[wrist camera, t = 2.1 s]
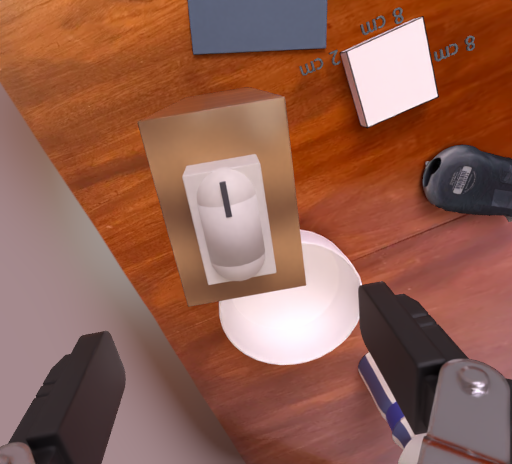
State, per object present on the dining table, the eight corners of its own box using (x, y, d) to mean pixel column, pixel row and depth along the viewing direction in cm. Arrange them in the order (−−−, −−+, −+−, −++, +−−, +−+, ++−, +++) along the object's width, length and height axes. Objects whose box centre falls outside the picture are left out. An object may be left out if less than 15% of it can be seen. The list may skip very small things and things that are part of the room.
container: (323, 142, 49) (328, 145, 46) (293, 55, 44) (298, 53, 42) (467, 79, 47) (481, 79, 45) (452, -18, 43) (466, -24, 40)
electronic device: (519, 152, 53) (435, 137, 49) (552, 166, 48) (463, 151, 44) (487, 208, 58) (407, 199, 53) (514, 225, 53) (430, 217, 49)
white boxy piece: (185, 164, 20) (178, 181, 17) (256, 152, 20) (262, 167, 17) (209, 266, 23) (207, 298, 20) (271, 255, 23) (280, 285, 20)
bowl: (225, 334, 59) (226, 373, 52) (211, 224, 52) (210, 249, 44) (342, 321, 60) (360, 357, 53) (346, 211, 53) (368, 234, 45)
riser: (185, 97, 45) (137, 121, 19) (248, 86, 45) (284, 96, 19) (205, 189, 50) (188, 307, 24) (262, 179, 50) (306, 285, 24)
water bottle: (366, 341, 63) (450, 493, 40) (409, 351, 64) (513, 501, 41) (347, 377, 65) (415, 537, 43) (388, 385, 67) (475, 543, 44)
